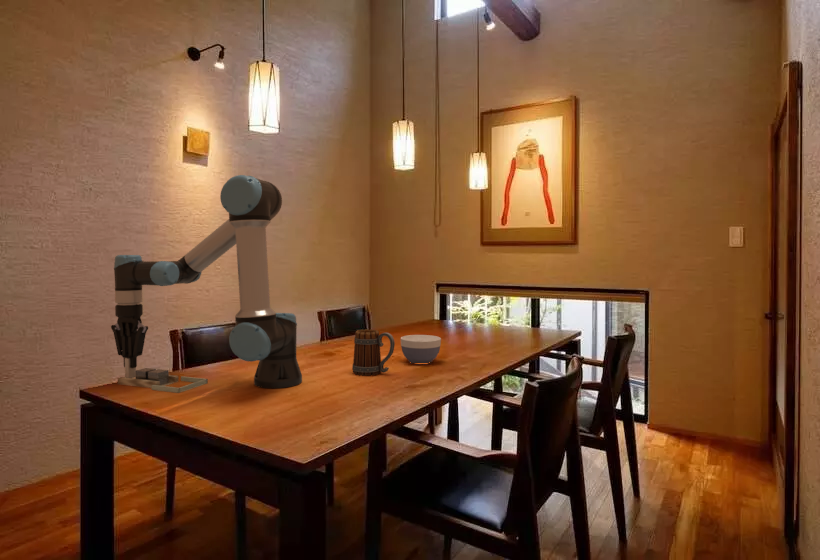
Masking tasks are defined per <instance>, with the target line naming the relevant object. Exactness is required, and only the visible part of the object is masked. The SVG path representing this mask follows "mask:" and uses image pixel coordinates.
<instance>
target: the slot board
mask: <svg viewBox="0 0 820 560" xmlns="http://www.w3.org/2000/svg"><path fill="white" fill-rule="evenodd" d="M179 377H180V376H179V375H174V374H169V383H167V384H163V385H160V381H152V380H143V379H136V378H135V377H134V378H125V376H124V377H123V376H122V377H121V376H120V377H118V378H117V385H123V386H131V387H139V388H146V389H147V388H148V389H152V385H159V386H169V385H172V384H175V383H178V382H179Z"/></svg>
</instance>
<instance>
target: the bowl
mask: <svg viewBox="0 0 820 560" xmlns="http://www.w3.org/2000/svg"><path fill="white" fill-rule="evenodd" d="M441 343H442V338H441V337H439V336H436V335H431V334H430V335H429V334H428V335H427V334H410V335H404V336H401V337H400V347H401V352H402V354H403V355H404V358H405V359H406V360H408V362H409V363H410V362H411V363H410V364H412V363H429V362H432V363H433V361H434V360H435V359H436V358H437V357H438V354H439V353H440V351H441V350H440V349H441Z"/></svg>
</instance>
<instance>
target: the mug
mask: <svg viewBox="0 0 820 560" xmlns="http://www.w3.org/2000/svg"><path fill="white" fill-rule="evenodd" d="M383 337H386V338H388V340H389V343H390V345H389V351H388V353H387V355H386V356H385V357H384V358H383V359H382V357H381V347H383V346H384V343H383ZM353 341H354V349H353V361H352V369H351V370H352V373H353V374H354V375H356V376H360V375H362V376H361V377H369V376H370V377H371V375H373V376H378V375H380V374H381V373H386V372H388V371H389V367H390V366H389V367H388V366H386V367H384V366H385V364H386V362H387V361H388V360H389V359H390V358H391V357H392V355H393V354H394V351H395V339H394V336H393V335H392V334H391V333H389V332H382V333H380V332H379V330H377V329H357V330H356V331H355V335H354V340H353ZM379 373H380V374H379ZM377 374H378V375H377Z"/></svg>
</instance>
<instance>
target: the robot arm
mask: <svg viewBox="0 0 820 560" xmlns="http://www.w3.org/2000/svg"><path fill="white" fill-rule="evenodd" d="M219 195H220V202H221V206H222V207H223V209H224V210H225V211H226V213H228V219H227V220H226V221H225V222H223V223H222V224H221V225H220V226H218V227H217V228H216V229H215V230H214V231H212V232H211V233H210V234H208V235H207V236H206V237H205V238H204V239H202V240H201V241H200V242H199V243H198V244H196V246H194V247H193V248H192V249H191V250H189V251H188V252H187V253H185V254H184V255H183V256H182V257H181V258H180V259H178V260H171V261H170V260H168V261H167V260H158V261H157V260H155V261H154V260H152V261H150V260H149V261H144V260H143V258H142V256H141V255H139V254H117V255H115V257H114V262H113V263H114V265H113V272H114V274H113V275H114V303H115V304H116V305H115V308H114V310H115V315H114V316H115V317H117V321H116V323H115V324H112V325H110V329H111V330H112V333H113V337H114V342H115V345H116V346H115V347H116V351H117V354H118V356H121V357H122V358H123V367H124V377H125V378H134V379H135V378H136V370H137V369H136V368H137V366H138V363H137V361H138V360H137V359H138V357H141V356H142V355H143V351H144V345H145V340H146V335H147V332H148V330H149V326H148V325H143V322H142V321H143V320H142V319H141V318H142V315H144V312H143V310H144V309H143V304H142V303H143V286H156V287H157V286H158V287H168V286H172V285H176V284H179V285H181V284H191V283H195V282H197V281H198V280H199V279H200V278H201V275H202V274H203V273H202V272H203V271H204V270H205V269H206V268H208V267H210V265H212V264H213V263H214V262H216V261H217V260H218V259H220V258H221V257H222V256H223V255H224V254H226V252H228V251H229V250H231V249H232V248H233V247H234V246H235V245H236V246H235V247H236V258H237V259H236V261H237V277H238V278H237V279H238V293H239V296H238V297H239V311H238V312H237V313H236V314H235V315H234V319H235V321H234V322H235V325H234V327H233V328H232V330H231V331H230V333H229V337H228V342H229V347H230V349H231V351H232V353H233V354H234V355H235V356H237V357H238V359H240V360H242V361H244V362H257V361H258V364H257V367H256V370H255V373H254V377H253V384H254V386H255V387H258V388H263V389H283V388H289V387H295V386H297V385H300V384H301V383H302V382H303V375H302V374H303V373H302V371H301V369H300V365H299V363H298V360H297V358H298V357H297V326H298V323H297V316H296V315H295V314H294V313H292V312H291V313H289V312H276V311H274V310H273V309H272V308H271V300H270V299H271V297H270V282H269V281H270V279H269V278H270V277H269V264H268V263H269V262H268V247H267V246H268V245H267V243H268V242H267V227H268V226H269V224H270V223H272V222H271V221H272V220H273V219H274V218H275V217H276V216H277V215H278V214H279V212H280V211H281V208H282V205H283V197H282V193H281V191H280V190H279V188H278V187H277V186H276V185H275V184H273V183H272V182H269V181H267V180H263V179H259V178H257V177H255V176H252V175H245V174H238V175H234V176H232V177H230V178H229V179H228V180H227V181H226V182H225V183H224V184H223V186H222V188H221V190H220V194H219Z"/></svg>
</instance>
